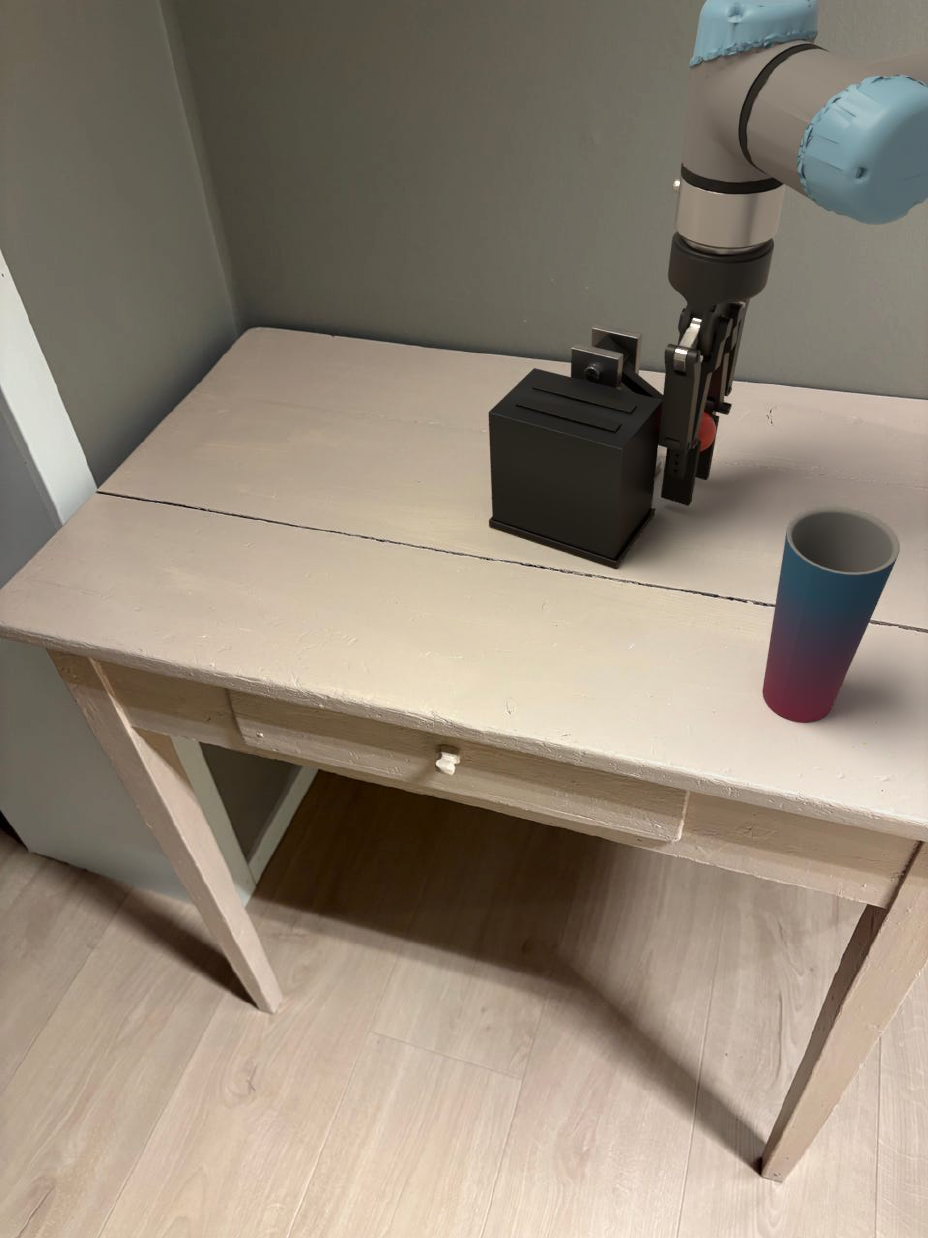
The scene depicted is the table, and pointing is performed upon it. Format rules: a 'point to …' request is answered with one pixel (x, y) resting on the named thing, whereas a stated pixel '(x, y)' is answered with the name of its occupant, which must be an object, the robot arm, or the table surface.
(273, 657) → the table surface
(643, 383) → the lever
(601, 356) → the bracket
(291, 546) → the table surface
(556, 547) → the toaster
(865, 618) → the cup
